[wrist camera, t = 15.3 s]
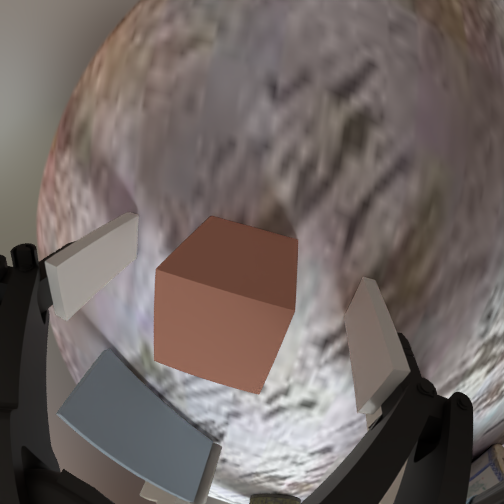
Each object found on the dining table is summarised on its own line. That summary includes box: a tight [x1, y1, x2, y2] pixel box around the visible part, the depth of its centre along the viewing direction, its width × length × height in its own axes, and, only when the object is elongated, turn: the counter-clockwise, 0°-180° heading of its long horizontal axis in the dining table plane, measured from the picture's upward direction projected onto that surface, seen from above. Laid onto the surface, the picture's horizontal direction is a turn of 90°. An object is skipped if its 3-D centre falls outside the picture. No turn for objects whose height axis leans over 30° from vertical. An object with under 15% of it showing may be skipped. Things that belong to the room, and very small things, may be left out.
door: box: [56, 348, 222, 504], centre depth 18 cm, size 16×1×8 cm, turn 33°
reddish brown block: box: [154, 216, 298, 394], centre depth 12 cm, size 4×4×6 cm
